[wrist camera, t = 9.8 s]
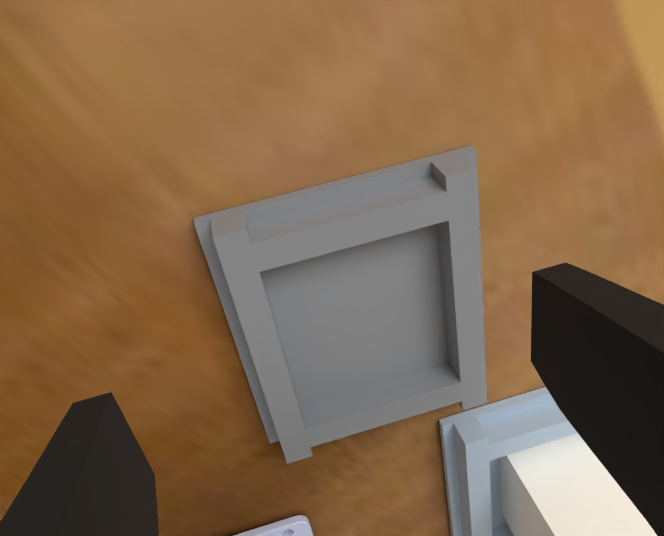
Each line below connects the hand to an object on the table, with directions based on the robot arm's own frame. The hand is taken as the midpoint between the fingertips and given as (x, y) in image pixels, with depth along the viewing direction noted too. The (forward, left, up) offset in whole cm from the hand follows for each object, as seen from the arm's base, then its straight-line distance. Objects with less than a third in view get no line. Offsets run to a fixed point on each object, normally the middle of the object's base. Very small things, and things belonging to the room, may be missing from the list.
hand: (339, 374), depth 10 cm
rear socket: (+9, -18, -9) cm, 22 cm away
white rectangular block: (+9, -18, -9) cm, 22 cm away
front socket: (+2, -6, -9) cm, 11 cm away
